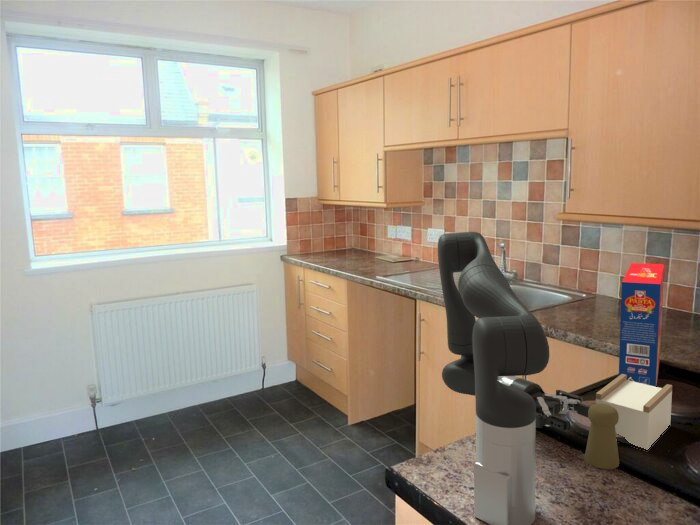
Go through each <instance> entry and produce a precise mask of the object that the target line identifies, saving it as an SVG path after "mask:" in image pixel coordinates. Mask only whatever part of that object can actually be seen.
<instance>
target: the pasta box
mask: <svg viewBox="0 0 700 525" xmlns="http://www.w3.org/2000/svg"><path fill="white" fill-rule="evenodd" d="M664 274H665V264H662V263H643V262H642V263H640V262H639V263H638V262H631V263H630V265H629V267H628V269H627V271H626V273H625V275H624V277H623V280H622V281H621V295H620V296H621V299H620V301H621V302H620V325H619V328H620V329H619V330H620V331H619V355H618V356H619V357H618V376H620V375H621V374H625V375H627V380H629V381H633V382H638V383H642V384H646V385H650V386H655V387H656V386H657V385H658V378H659V371H660V370H659V369H660V363H661V342H662V340H661V339H662V320H663V319H662V317H663V298H664V296H663V295H664V278H665V277H664V276H665V275H664ZM657 387H658V386H657Z"/></svg>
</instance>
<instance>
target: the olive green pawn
mask: <svg viewBox="0 0 700 525" xmlns="http://www.w3.org/2000/svg"><path fill="white" fill-rule="evenodd" d="M588 417H589V418H588V420H589V421H590V426H589V432H588V437H587V441H586V447H585V453H584V460H585V462H586V463H587V464H589V466H593V467H595V468H597V469H603V470H613V469H614V470H615V469H616V468H619V466H620V465H619V464H620V458H619V455H620V454H619V448H618V442H617V439H616V430H615V425H616V424H617V423H618V420H619V416H618V412H617V410H616V409H615V408H614V407H612V406H610V405H607V404H596V403H595V404H594V403H593V404H591V406H590V408H589V410H588Z"/></svg>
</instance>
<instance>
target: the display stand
mask: <svg viewBox="0 0 700 525" xmlns="http://www.w3.org/2000/svg"><path fill="white" fill-rule="evenodd" d="M672 395H673V385H672V384H668V383H667V384H665V385H664V386H663V387H659V386H657V387H655V386H650V385H646V384H642V383H638V382H633V381H629V380H627V375H625V374H621V375H620V376H619V375H617V377H616V378H614V379H613V380H612V381H610V382H609V383H608V384H606V385H605V386H604V387H602V388H601V389H600V390H598V391H597V392H595V404H607V405H610V406H612V407H614V408H615V409H616V410H617V412H618V416H619V420H618V423H617V424H616V425H615V430H616V433H617V434H619V435H621V436H623V437H625V439H626V440H627V441H628V442H629V443H631V444H633V445H635V446H638V447H641V448H644V449H646V450H648V449H649V448H650V447H651V445H652V444H653V443H654V442H655V441H656V440H657V439H658V438H659V437H660V435H661V434H662V433H663V432H664V431H665V430H666V429H667V428H668V426H669V425H670V426H671V421H672V420H671V419H672V418H671V416H672V399H673V398H672V397H673V396H672ZM668 429H669V428H668ZM668 429H667V430H668ZM667 430H666V431H667ZM666 431H665V432H666ZM665 432H664V433H665ZM664 433H663V434H664ZM663 434H662V435H663ZM660 438H661V437H660ZM660 438H659V439H660ZM659 439H658V440H659ZM658 440H657V441H658ZM657 441H656V442H657ZM656 442H655V443H656ZM655 443H654V444H655ZM654 444H653V445H654ZM653 445H652V446H653ZM651 448H652V447H651ZM651 448H650V449H651ZM650 449H649V450H650ZM649 450H648V451H649Z"/></svg>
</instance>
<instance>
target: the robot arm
mask: <svg viewBox="0 0 700 525" xmlns="http://www.w3.org/2000/svg"><path fill="white" fill-rule="evenodd" d="M437 261H438V268H439V275H440V276H439V277H440V283H441V284H440V285H441V289H442V297H443V302H444V308H445V316H446V329H447V330H446V334H447V347H448V350H449V351H450V353H452V354H454V355H457V356H460V358H458V359H456V360H454V361H451V362H449V363H447V364H446V365H445V366H444V367H443V368H442V370H441V378H442V381H443V383H444V384H445V385H446V387H447V388H449V389H450V390H451V391H453V392H455V393H458V394H463V395H467V396H468V395H469V396H475V451H476V452H475V458H476V460H475V461H476V462H474V464H473V501H474V502H473V505H474V506H473V510H474V517H475V518H477V519H478V520H481V521H483V522H485V523H486V524H488V525H532V524H533V523H534V521H535V519H536V455H537V454H536V451H537V450H536V444H537V441H536V438H537V437H536V436H537V435H536V434H537V433H536V432H537V429H536V428H538V429H542V428H543V426H546V427H547V428H548V427H552V428H555V429H558V430H560V431H562V432H565V433H568V432H570V431H571V421H569V420H568V419H566V418H563V417H561V416H558V415H556V414H560V415H567V414H569V413H574V414H577V415H580V416H583V417H586V418H588V419H589V417H588V410H589V408H590V407H591V406H590V405H587V404H584V403H583V396H580V395H576V394H573V393H570V392H567V391H564V390H562V389H556V390H555V394H553V393H547V392H545V391H544V390H543V388H542V386H541V385H540V384H538V383H535V382H532V381H530V380H527V379H524V378H521V377H519V376H522V377H523V376H524V377H525V376H531V375H537V374H540V373H542V372H543V371H544V370H545V369H546V368H547V366H548V364H549V360H550V346H549V341H548V338H547V336H546V332H545V330H544V328H543V326H542V324H541V323H540V321H539V319H537V317H536V316H535V315H534V314H533V313H532V312H531V311H530V310H529V309H528V308H527V306H525V304H524V303H523V302H522V301H521V300H520V298H519V297H518V296H517V294H516V293H515V292H514V290H513V288H512V287H511V285H510V282H508V280H507V278H506V276H505V275H504V273H503V272H502V271H501V269H500V268H499V267H498V265H497V263H496V261H495V260H494V258H493V256H492V253H491V251H490V249H489V246H488V243H487V240H486V239H485V238H484V236H483V235H482V234H481V233H480V232H477V231H462V232H450V233H448V232H447V233H442V234H441V235H440V236H439V237H438V241H437ZM454 273H460V275H459V278H458V282H457V285H456V282H455V277H454ZM476 318H477V319H476ZM561 405H563V408H561Z"/></svg>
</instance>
